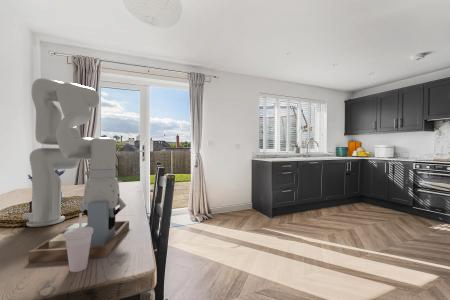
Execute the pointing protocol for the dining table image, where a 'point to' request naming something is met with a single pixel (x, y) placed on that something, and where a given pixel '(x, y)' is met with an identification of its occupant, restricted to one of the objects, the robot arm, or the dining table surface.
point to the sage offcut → (76, 226)
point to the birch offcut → (57, 242)
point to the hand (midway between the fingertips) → (102, 228)
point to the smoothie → (78, 246)
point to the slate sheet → (99, 223)
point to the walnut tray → (59, 254)
